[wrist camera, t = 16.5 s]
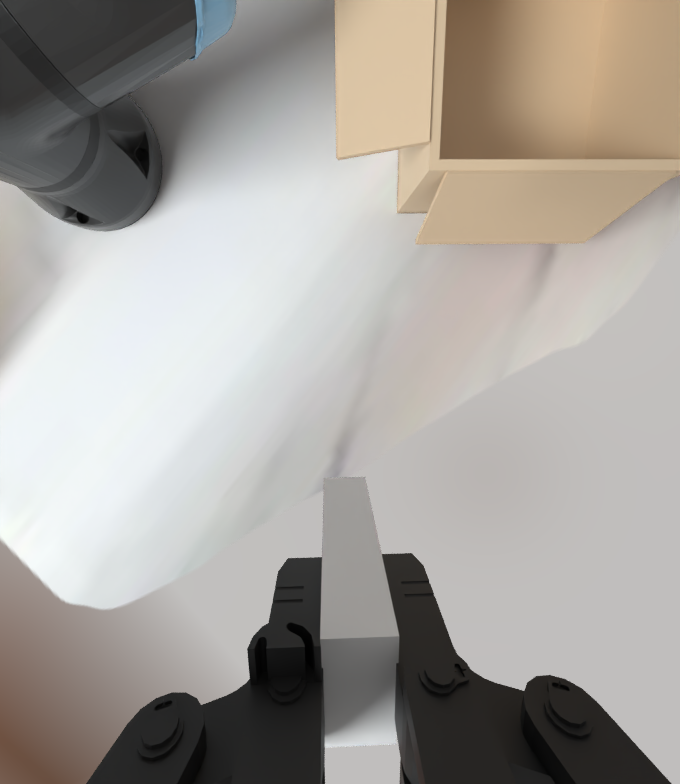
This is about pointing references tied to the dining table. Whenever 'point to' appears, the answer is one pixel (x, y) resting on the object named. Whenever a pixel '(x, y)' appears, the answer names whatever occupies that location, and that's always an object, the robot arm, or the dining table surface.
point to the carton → (512, 110)
